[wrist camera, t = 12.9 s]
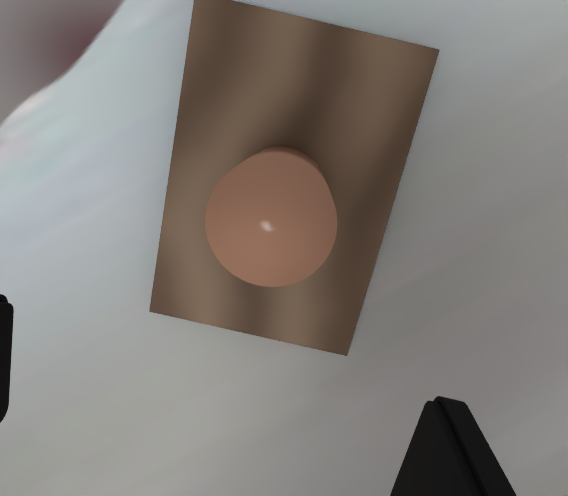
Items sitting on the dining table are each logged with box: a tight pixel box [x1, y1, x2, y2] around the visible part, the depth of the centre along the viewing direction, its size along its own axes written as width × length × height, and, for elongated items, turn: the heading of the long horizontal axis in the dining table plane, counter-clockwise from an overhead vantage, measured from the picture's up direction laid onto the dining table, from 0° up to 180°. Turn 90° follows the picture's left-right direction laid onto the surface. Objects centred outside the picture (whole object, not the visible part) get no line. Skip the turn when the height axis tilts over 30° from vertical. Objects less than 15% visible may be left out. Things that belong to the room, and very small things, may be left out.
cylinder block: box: [205, 146, 337, 287], centre depth 24 cm, size 6×6×8 cm
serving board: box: [150, 0, 439, 356], centre depth 28 cm, size 14×20×1 cm
